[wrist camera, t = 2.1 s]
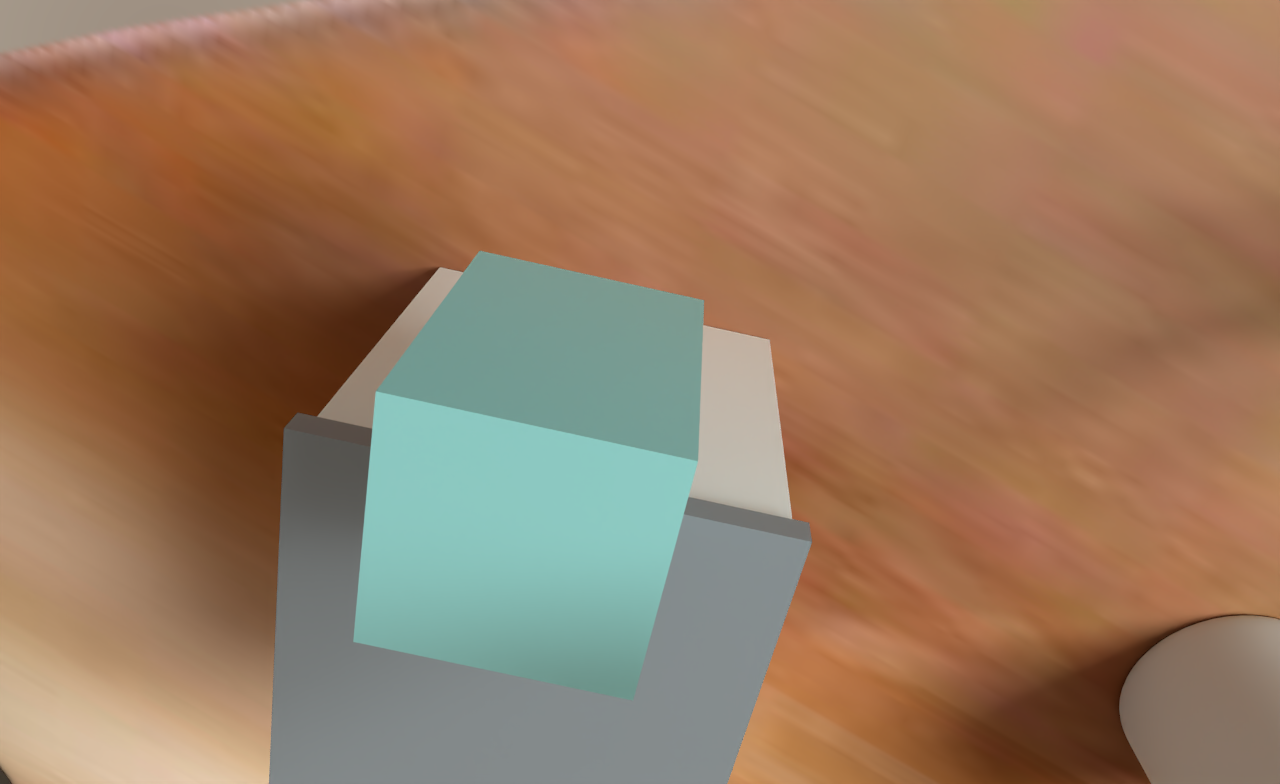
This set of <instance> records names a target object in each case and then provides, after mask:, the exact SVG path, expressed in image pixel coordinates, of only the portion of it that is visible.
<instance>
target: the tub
mask: <svg viewBox="0 0 1280 784" xmlns="http://www.w3.org/2000/svg"><path fill="white" fill-rule="evenodd" d="M463 273H464V272H460V271H455V270H451V269H446V268H442V267H440V268H439V269H438V270H437V271H436V272H435V274H434V275H433V276H432V277H431V278H430V280H429V281H428V282H427V283H426V285H425V286H424V287H423V288H422V289H421V291H420V292H419V293H418V294H417V296H416V297H415V298H414V299H413V300H412V302H411V303H410V304H409V305H408V306H407V308H406V309H405V310H404V311H403V313H402V314H401V315H400V316H399V317H398V319H397V320H396V321H395V322H394V324H393V325H392V326H391V327H390V328H389V330H388V331H387V332H386V333H385V334H384V336H383V337H382V338H381V339H380V341H379V342H378V343H377V344H376V345H375V347H374V348H373V349H372V350H371V352H370V353H369V354H368V355H367V356H366V358H365V359H364V360H363V361H362V362H361V364H360V365H359V366H358V367H357V369H356V370H355V371H354V372H353V373H352V375H351V376H350V377H349V378H348V379H347V381H346V382H345V383H344V384H343V386H342V387H341V388H340V389H339V390H338V392H337V393H336V394H335V395H334V397H333V398H332V399H331V400H330V401H329V403H328V404H327V405H326V406H325V407H324V409H323V410H322V411H321V412H320V414H319V415H318V416H317V417H321V418H325V419H330V420H335V421H339V422H344V423H349V424H353V425H358V426H362V427H367V428H372V427H373V416H374V405H375V394H376V390H377V389H378V388H379V386H380V385H381V384H382V382H383V381H384V380H385V378H386V377H387V375H388V374H389V373H390V371H391V370H392V369H393V367H394V366H395V365H396V363H397V362H398V361H399V359H400V358H401V357H402V355H403V354H404V352H405V351H406V350H407V348H408V347H409V346H410V344H411V343H412V342H413V340H414V339H415V338H416V336H417V335H418V334H419V332H420V331H421V329H422V328H423V327H424V325H425V324H426V323H427V321H428V320H429V319H430V317H431V316H432V315H433V313H434V312H435V311H436V309H437V308H438V306H439V305H440V304H441V302H442V301H443V300H444V298H445V297H446V296H447V294H448V293H449V292H450V290H451V289H452V288H453V286H454V285H455V283H456V282H457V281H458V279H459V278H460V277H461V275H462V274H463ZM689 497H691V498H696V499H701V500H705V501H710V502H715V503H719V504H724V505H729V506H733V507H738V508H742V509H747V510H752V511H756V512H761V513H766V514H770V515H775V516H779V517H784V518H789V519H792V514H791V506H790V498H789V490H788V482H787V474H786V466H785V458H784V450H783V442H782V435H781V427H780V419H779V411H778V403H777V395H776V387H775V379H774V371H773V363H772V355H771V347H770V340H768V339H764V338H759V337H755V336H750V335H746V334H741V333H737V332H732V331H728V330H723V329H718V328H714V327H709V326H705V325H703V342H702V370H701V397H700V424H699V452H698V464H697V467H696V471H695V475H694V478H693V482H692V486H691V489H690V493H689Z"/></svg>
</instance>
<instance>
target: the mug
mask: <svg viewBox="0 0 1280 784" xmlns="http://www.w3.org/2000/svg"><path fill="white" fill-rule="evenodd" d="M1119 712H1120V720H1121V724H1122V727H1123V730H1124V733H1125V735H1126V738H1127V740H1128V742H1129V744H1130V746H1131V747H1132V749H1133V751H1134V753H1135V755H1136V757H1137V759H1138V760H1139V762H1140V764H1141V766H1142V768H1143V769H1144V771H1145V773H1146V775H1147V777H1148V779H1149V781H1150V782H1151V784H1280V619H1276V618H1271V617H1264V616H1254V615H1239V616H1227V617H1221V618H1215V619H1210V620H1207V621H1203V622H1199V623H1197V624H1194V625H1191V626H1188V627H1186V628H1183V629H1181V630H1179V631H1177V632H1175V633H1173V634H1171V635H1170V636H1168V637H1166V638H1165V639H1163V640H1161V641H1160V642H1159V643H1157V644H1156V645H1155V646H1153V647H1152V648H1151V649H1150V650H1148V651H1147V652H1146V653H1145V654H1144V655H1143V656H1142V657H1141V658H1140V659H1139V661H1138V662H1137V663H1136V664H1135V666H1134V667H1133V668H1132V670H1131V671H1130V673H1129V675H1128V676H1127V678H1126V681H1125V683H1124V685H1123V688H1122V691H1121V695H1120V702H1119Z"/></svg>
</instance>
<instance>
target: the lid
mask: <svg viewBox="0 0 1280 784" xmlns="http://www.w3.org/2000/svg"><path fill="white" fill-rule="evenodd" d="M703 315H704V300H700V299H695V298H691V297H686V296H682V295H677V294H673V293H668V292H664V291H659V290H655V289H650V288H646V287H641V286H637V285H632V284H628V283H623V282H619V281H614V280H609V279H605V278H600V277H596V276H591V275H587V274H582V273H578V272H573V271H569V270H564V269H560V268H555V267H551V266H546V265H542V264H537V263H533V262H528V261H523V260H519V259H514V258H510V257H505V256H501V255H496V254H492V253H487V252H483V251H479V252H478V254H477V255H476V256H475V258H474V259H473V261H472V262H471V263H470V265H469V266H468V267H467V269H466V270H465V271H464V273H463V274H462V275H461V277H460V278H459V279H458V281H457V282H456V283H455V285H454V286H453V288H452V289H451V290H450V292H449V293H448V294H447V296H446V297H445V298H444V300H443V301H442V302H441V304H440V305H439V306H438V308H437V309H436V311H435V312H434V313H433V315H432V316H431V317H430V319H429V320H428V321H427V323H426V324H425V325H424V327H423V328H422V329H421V331H420V332H419V334H418V335H417V336H416V338H415V339H414V340H413V342H412V343H411V344H410V346H409V347H408V348H407V350H406V351H405V352H404V354H403V355H402V357H401V358H400V359H399V361H398V362H397V363H396V365H395V366H394V367H393V369H392V370H391V371H390V373H389V374H388V375H387V377H386V378H385V380H384V381H383V382H382V384H381V385H380V386H379V388H378V389H377V390H376V394H375V405H374V416H373V427H372V428H367V427H362V426H358V425H353V424H349V423H344V422H339V421H335V420H330V419H325V418H321V417H316V416H311V415H307V414H302V413H297V414H296V415H295V416H294V417H293V418H292V420H291V421H290V422H289V423H288V424H287V425H286V426H285V428H284V439H283V463H282V487H281V511H280V535H279V559H278V583H277V607H276V630H275V654H274V678H273V702H272V726H271V750H270V774H269V784H727V783H728V780H729V777H730V774H731V772H732V769H733V766H734V763H735V760H736V757H737V754H738V752H739V749H740V746H741V743H742V740H743V737H744V734H745V732H746V729H747V726H748V723H749V720H750V717H751V714H752V712H753V709H754V706H755V703H756V700H757V697H758V694H759V692H760V689H761V686H762V683H763V680H764V677H765V674H766V672H767V669H768V666H769V663H770V660H771V657H772V654H773V652H774V649H775V646H776V643H777V640H778V637H779V634H780V632H781V629H782V626H783V623H784V620H785V617H786V614H787V612H788V609H789V606H790V603H791V600H792V597H793V595H794V592H795V589H796V586H797V583H798V580H799V577H800V575H801V572H802V569H803V566H804V563H805V560H806V557H807V555H808V552H809V549H810V546H811V543H812V539H811V533H810V526H809V523H807V522H803V521H798V520H793V519H789V518H784V517H779V516H775V515H770V514H766V513H761V512H756V511H752V510H747V509H742V508H738V507H733V506H729V505H724V504H719V503H715V502H710V501H705V500H701V499H696V498H691V497H689V493H690V489H691V486H692V482H693V478H694V475H695V471H696V467H697V464H698V452H699V424H700V397H701V370H702V342H703Z"/></svg>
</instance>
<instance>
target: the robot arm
mask: <svg viewBox="0 0 1280 784" xmlns="http://www.w3.org/2000/svg"><path fill="white" fill-rule="evenodd" d="M0 784H11V783H10V781H9V780H8V778H7V777H6V776H5V774H4V773H3V772H2V770H1V769H0Z"/></svg>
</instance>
